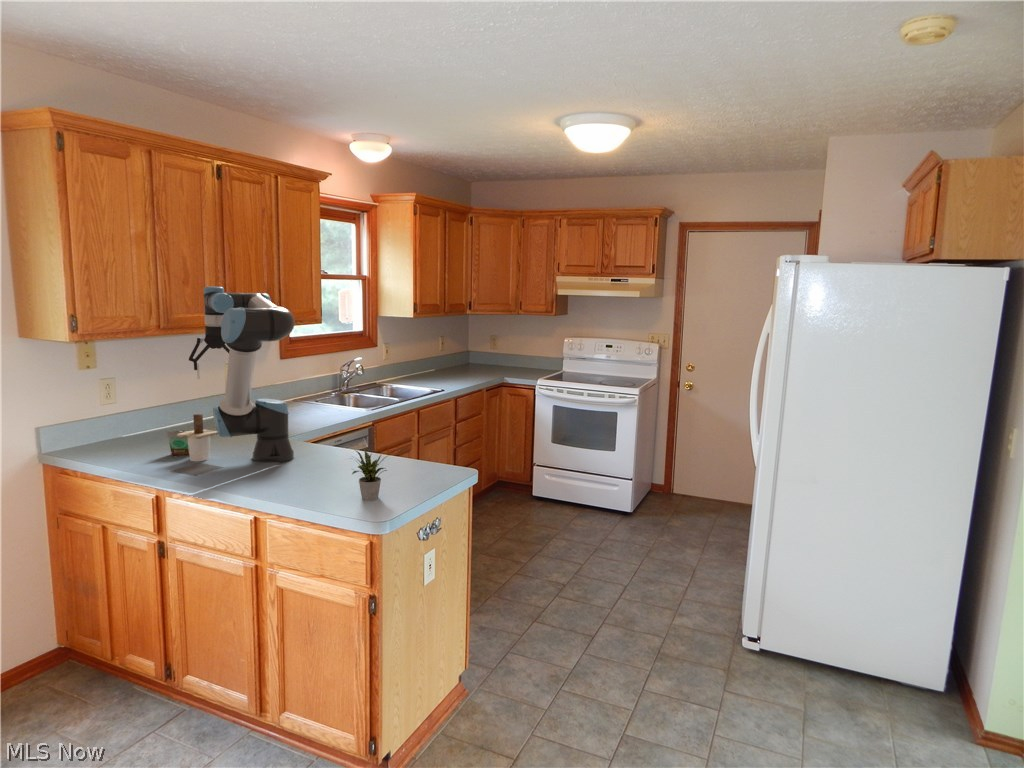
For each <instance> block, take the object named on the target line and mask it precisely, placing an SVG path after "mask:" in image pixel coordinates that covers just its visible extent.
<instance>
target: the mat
mask: <svg viewBox="0 0 1024 768" xmlns="http://www.w3.org/2000/svg"><path fill="white" fill-rule="evenodd" d="M223 468H224V466H220V465H219V466H218V465H214V464H208V463H202V462H196V463H192V464H189V465H186V466H182V467H178V468H175V469H171V470H170V472H172V473H177V474H182V475H183V474H184V475H189V476H194V477H197V476H199V475H203V474H206V473H209V472H213V471H216V470H219V469H223Z"/></svg>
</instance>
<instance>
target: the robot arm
mask: <svg viewBox="0 0 1024 768" xmlns="http://www.w3.org/2000/svg"><path fill="white" fill-rule="evenodd" d="M203 306H204V308H203V309H204V325H205V326H204V332H205V336H204V337H199V336H198V337H197V338H196V344H195V346H193V347H194V348H193V350H192V351H191V353H190V355H189V357H188V361H190V362H192V363H193V370H194V371H197V372H196V373H197V374H196V375H197V379H199V380H200V379H201V375H200V374H201V373H200V361H199V360H200V359H201V357H202V356H203V355H204V354H205V353H206V352H207V351H208V349H211V350H213V349H214V350H215V349H222V348H223V349H224V350H225V351H226V352H227V354H228V361H227V373H226V380H225V391H224V397H222V398H221V399H220V401H219V403H218V405H219V406H218V405H216V406H214V407H213V409H212V414H213V415H212V416H213V421H214V425H215V431H217V433H218V434H217V436H219V437H220V438H221V437H222V438H232V437H233V438H234V437H240V436H241V437H242V436H248V435H249V436H251V435H256V442H255V444H254V449H253V452H252V461H255V462H257V463H258V462H260V463H278V462H279V463H284V461H285V462H288V460H289V461H291V460H293V459H294V457H295V455H294V454H295V453H294V450H293V447H292V445H291V441H290V437H289V436H290V435H289V408H288V404H287V402H286V401H283V400H280V399H274V398H256V399H255V402H254V403H253V402H252V400H251V395H252V394H251V393H252V385H253V378H254V370H255V362H256V356H257V352H258V351H260V350H261V348H262V345H263V343H265V342H278V341H280V340H281V341H282V340H283V339H284V338H287V337H288V336H289V335H290V334H291V333H292V332H293V330H294V327H295V321H296V320H295V317H294V315H293V313H292V312H291V311H290V310H289V309H287V308H285V307H283V306H277V305H276V304H274V303H273V302H272V299H271V297H270V295H269V294H268V293H265V292H264V293H262V292H225V289H224V287H222V286H205V287H204V288H203ZM203 342H205V344H206V345H205V346H204V347H203V349H202V350H201V351H200V352H199V353H198V354H197V355H196V353H197V351H198V349H199V347H200V344H202V343H203ZM195 355H196V356H195Z"/></svg>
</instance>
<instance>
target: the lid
mask: <svg viewBox="0 0 1024 768" xmlns="http://www.w3.org/2000/svg"><path fill="white" fill-rule="evenodd" d="M187 431H188V432H184V433H179V434H177V436H180V437H186V438H193V439H201V438H205V437H209V436H210V437H213V436H216V435H217V436H218V433H217V430H211V429H204V415H203V413H195V414H193V430H187Z"/></svg>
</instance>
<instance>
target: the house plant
mask: <svg viewBox="0 0 1024 768" xmlns="http://www.w3.org/2000/svg"><path fill="white" fill-rule="evenodd" d="M354 451H355V452H356V453H357V454H358V455H359V458H360V459H358V458H357V457H355V459H354V456H352V455H351V457H352V458H350V459H353V460H354V461H357V463H358V465H359V466H357V468H359V470H355V469H353V468H352V470H353V472H352V473H351V475H353V474H354V475H355V474H356V473H359V472H360V473H362V474H363V475H364V476H361V477H359V478H358V483H359V491H360V495H361V499H362V500H363V499H364V501H374V500H373V499H375V500H377V499H379V493H380V488H381V487H380V486H381V481H382V478H381V477H379V475H380V474H382V473H384V472H388V471H389V470H387V468H386V467H379V465H381V463H382V462H383V461H384V460H385V459H386V458H387V457H389V456H391V454H388V455H387V456H384V457H383V458H382V459H381V457H382V454H383V453H380V455H379V456H378V458H377V459H374V461H372V457H371V456H372V455H373V452H371V453H370V454H369V453H368V452H367V451H366V450H364V458H363V455H362V454H361V453H360V452H359V451H358V450H356V449H354ZM372 451H374V449H372ZM364 459H365V461H364ZM380 459H381V460H380ZM379 460H380V461H379ZM378 462H379V463H378ZM360 464H361V465H360ZM378 467H379V468H378ZM384 469H386V470H384ZM381 470H382V471H381ZM378 473H380V474H378ZM377 474H378V475H377ZM376 498H377V499H376Z"/></svg>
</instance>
